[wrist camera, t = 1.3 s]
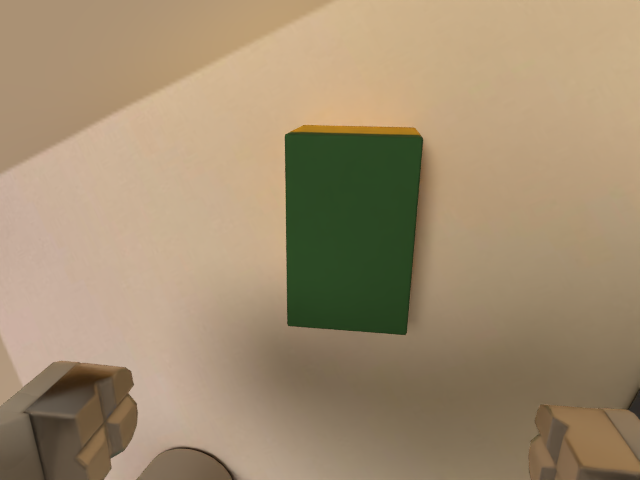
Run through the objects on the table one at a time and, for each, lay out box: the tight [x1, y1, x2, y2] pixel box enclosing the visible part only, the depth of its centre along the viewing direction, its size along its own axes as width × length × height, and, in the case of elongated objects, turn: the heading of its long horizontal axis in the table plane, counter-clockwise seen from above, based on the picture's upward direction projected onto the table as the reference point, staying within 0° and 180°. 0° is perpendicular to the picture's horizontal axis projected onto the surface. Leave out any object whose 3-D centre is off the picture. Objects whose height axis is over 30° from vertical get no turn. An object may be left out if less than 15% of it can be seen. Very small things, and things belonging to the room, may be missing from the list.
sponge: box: [285, 125, 423, 335], centre depth 19 cm, size 8×5×4 cm, turn 179°
